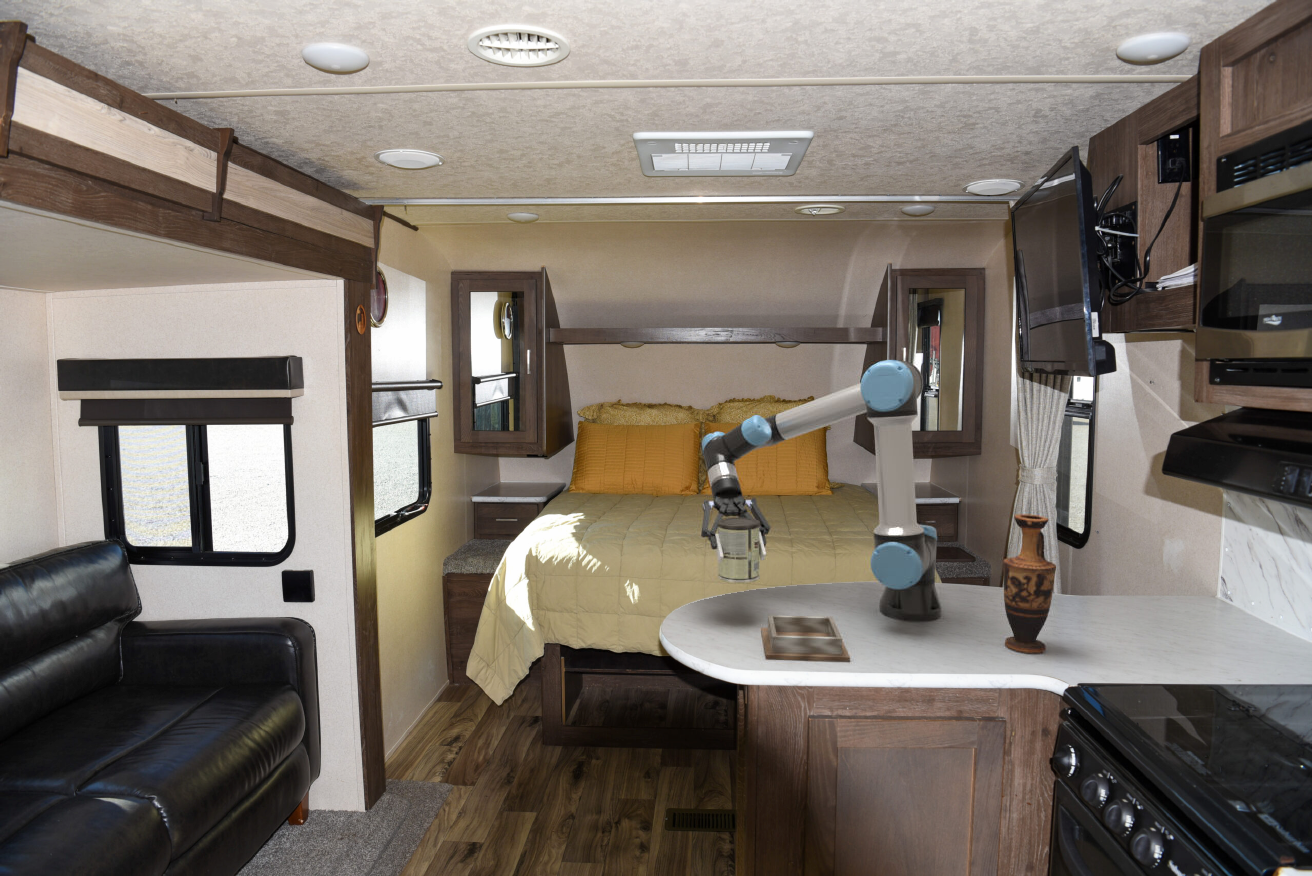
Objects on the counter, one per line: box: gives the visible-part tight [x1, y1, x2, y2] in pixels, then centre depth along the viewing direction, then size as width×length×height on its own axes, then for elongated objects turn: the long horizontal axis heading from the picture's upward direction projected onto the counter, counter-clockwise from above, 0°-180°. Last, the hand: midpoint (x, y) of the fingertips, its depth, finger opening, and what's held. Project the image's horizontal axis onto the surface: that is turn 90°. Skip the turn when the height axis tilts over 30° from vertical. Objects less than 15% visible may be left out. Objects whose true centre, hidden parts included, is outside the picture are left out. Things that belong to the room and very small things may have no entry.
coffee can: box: [717, 516, 760, 584], centre depth 199 cm, size 10×10×14 cm
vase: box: [1002, 513, 1057, 654], centre depth 182 cm, size 11×11×30 cm
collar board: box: [760, 614, 851, 663], centre depth 184 cm, size 18×18×4 cm
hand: (742, 558), depth 197 cm, fingers closed on coffee can, 10 cm apart
